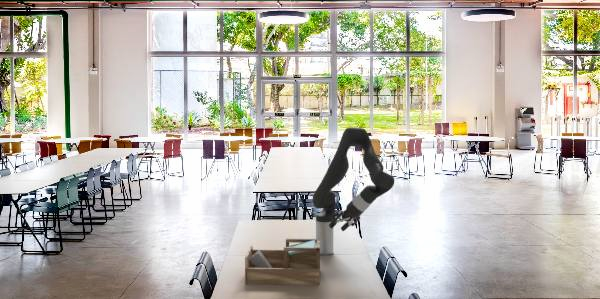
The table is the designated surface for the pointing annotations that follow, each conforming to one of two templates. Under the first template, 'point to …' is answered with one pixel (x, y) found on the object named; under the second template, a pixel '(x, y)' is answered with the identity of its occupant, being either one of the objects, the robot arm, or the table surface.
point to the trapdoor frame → (286, 265)
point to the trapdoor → (305, 244)
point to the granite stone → (260, 260)
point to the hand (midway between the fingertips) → (336, 228)
